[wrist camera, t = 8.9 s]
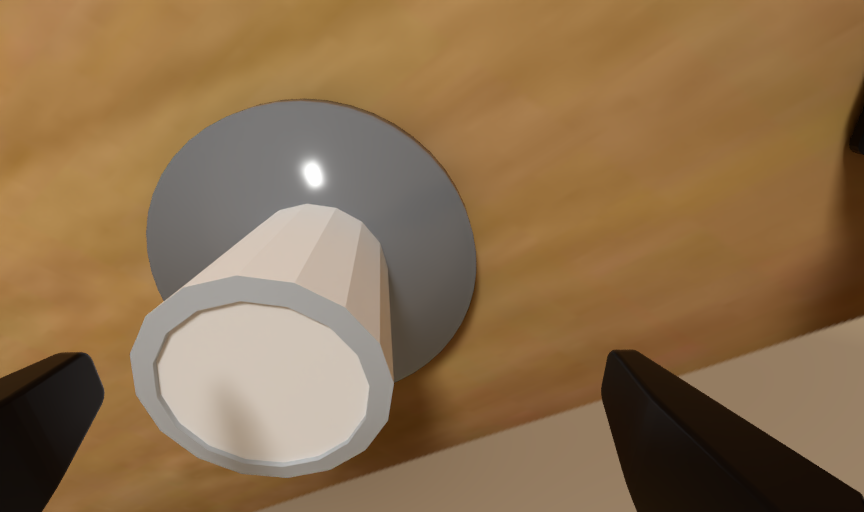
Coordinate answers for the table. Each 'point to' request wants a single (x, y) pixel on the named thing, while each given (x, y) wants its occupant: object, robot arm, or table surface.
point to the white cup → (275, 348)
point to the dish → (326, 186)
